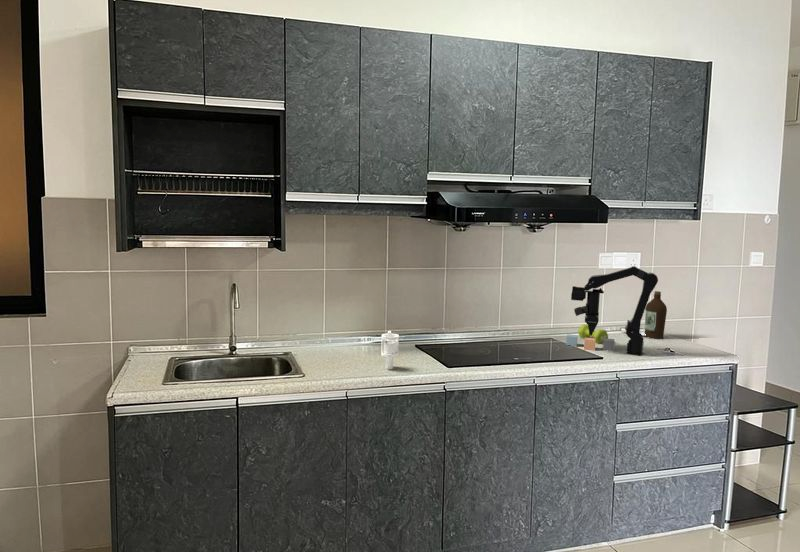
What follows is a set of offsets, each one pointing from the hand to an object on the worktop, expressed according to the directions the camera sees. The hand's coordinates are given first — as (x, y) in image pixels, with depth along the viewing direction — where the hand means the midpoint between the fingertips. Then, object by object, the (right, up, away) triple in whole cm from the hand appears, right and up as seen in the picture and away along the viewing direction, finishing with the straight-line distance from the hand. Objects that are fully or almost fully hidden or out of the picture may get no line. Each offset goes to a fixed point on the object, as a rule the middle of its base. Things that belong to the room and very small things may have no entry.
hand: (590, 333), depth 291 cm
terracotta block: (0, -8, +1) cm, 8 cm away
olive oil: (+45, -5, +33) cm, 56 cm away
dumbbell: (+7, -6, +20) cm, 22 cm away
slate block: (-7, -7, +8) cm, 13 cm away
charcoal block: (+9, -8, +1) cm, 12 cm away
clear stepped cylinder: (-98, -10, -44) cm, 107 cm away
